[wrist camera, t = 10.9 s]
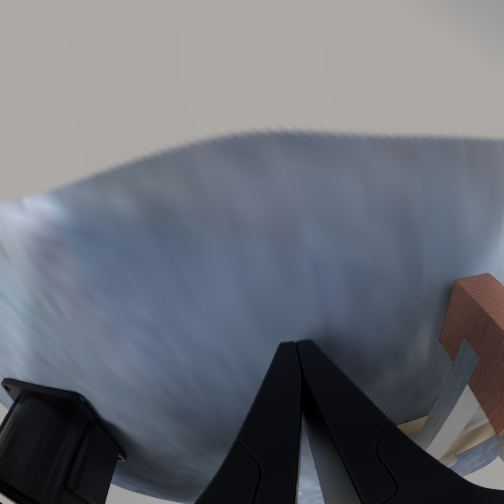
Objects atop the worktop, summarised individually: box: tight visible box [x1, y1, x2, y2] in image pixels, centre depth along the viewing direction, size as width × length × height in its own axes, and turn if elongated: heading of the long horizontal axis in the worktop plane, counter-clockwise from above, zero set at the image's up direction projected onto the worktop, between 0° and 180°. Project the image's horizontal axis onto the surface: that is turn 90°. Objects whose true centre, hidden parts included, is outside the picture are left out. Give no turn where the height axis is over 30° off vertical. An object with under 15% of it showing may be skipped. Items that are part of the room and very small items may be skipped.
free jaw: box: [413, 273, 504, 461], centre depth 9 cm, size 2×16×4 cm, turn 7°
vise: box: [396, 405, 496, 467], centre depth 11 cm, size 20×7×5 cm, turn 97°
